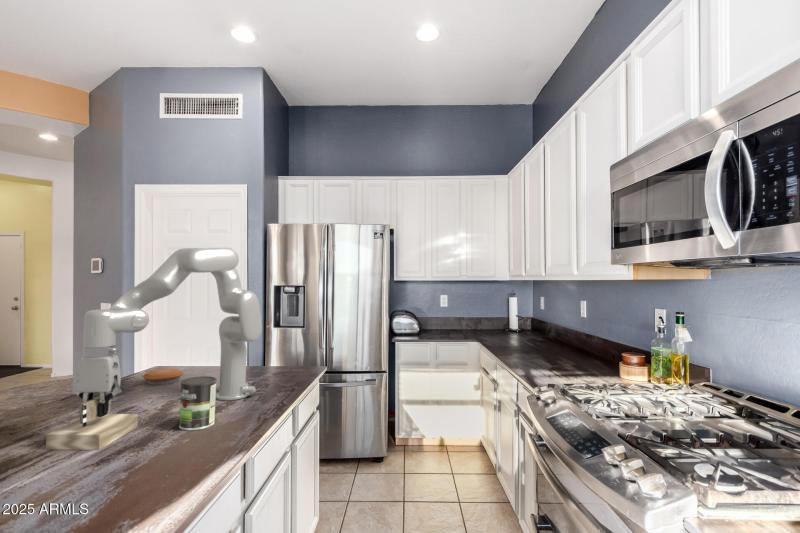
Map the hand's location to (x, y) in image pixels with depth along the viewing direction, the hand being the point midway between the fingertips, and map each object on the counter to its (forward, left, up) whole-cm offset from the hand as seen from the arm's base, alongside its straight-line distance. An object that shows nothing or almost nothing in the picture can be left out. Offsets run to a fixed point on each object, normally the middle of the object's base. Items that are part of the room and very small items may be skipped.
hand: (96, 415), depth 113 cm
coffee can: (-24, -11, -7) cm, 27 cm away
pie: (+15, -60, -7) cm, 62 cm away
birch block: (0, 0, -6) cm, 6 cm away
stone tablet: (-1, +2, -1) cm, 2 cm away
